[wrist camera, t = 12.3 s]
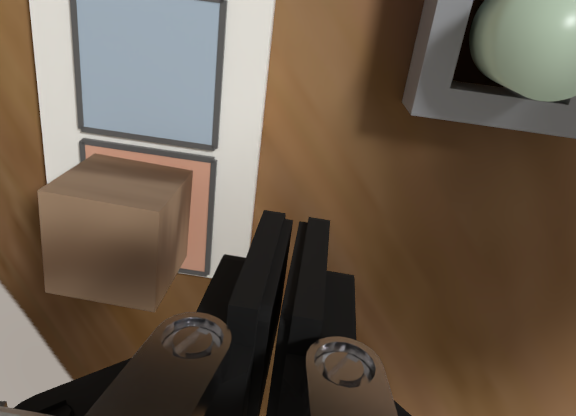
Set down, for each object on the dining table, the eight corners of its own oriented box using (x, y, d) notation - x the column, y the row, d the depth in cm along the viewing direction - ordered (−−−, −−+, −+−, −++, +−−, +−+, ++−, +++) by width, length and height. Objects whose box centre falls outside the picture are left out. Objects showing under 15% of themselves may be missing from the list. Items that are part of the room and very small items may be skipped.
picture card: (32, -35, 23) (22, -36, 22) (275, -2, 22) (273, -2, 22) (59, 249, 29) (51, 255, 29) (246, 278, 29) (244, 285, 28)
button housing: (442, -79, 21) (459, -91, 18) (625, -55, 20) (670, -64, 18) (401, 102, 24) (410, 115, 21) (558, 124, 24) (588, 140, 21)
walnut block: (94, 153, 26) (37, 190, 21) (193, 170, 26) (159, 212, 21) (96, 240, 28) (45, 292, 23) (186, 256, 28) (154, 312, 23)
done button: (486, -31, 19) (519, -38, 16) (593, -17, 19) (650, -20, 16) (456, 77, 21) (481, 92, 18) (554, 91, 21) (598, 109, 18)
